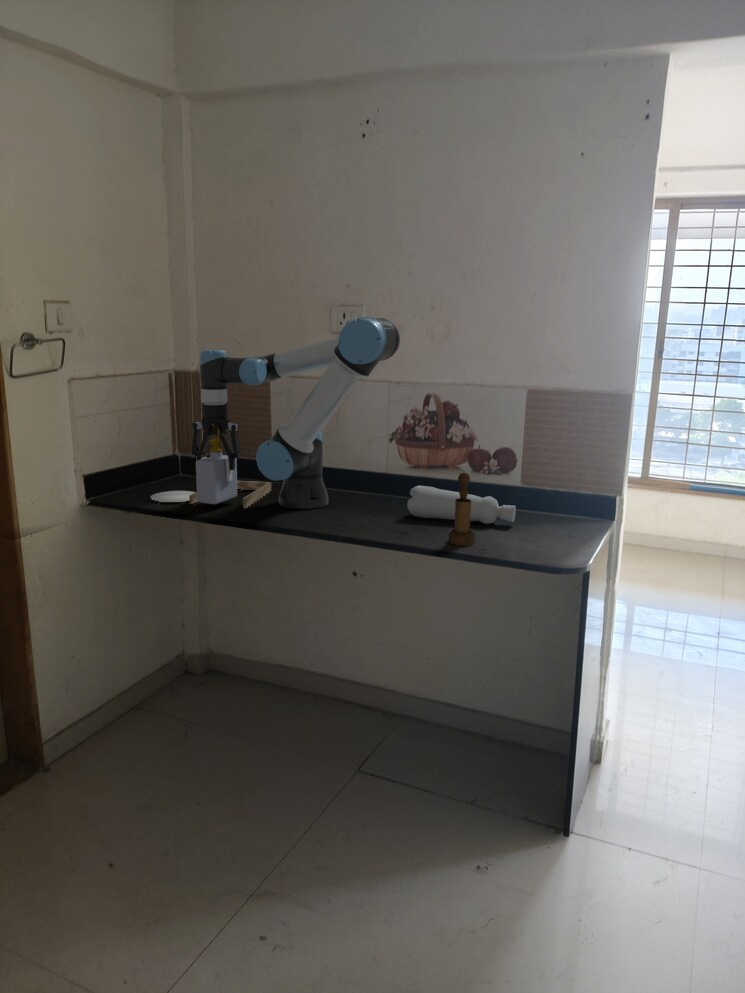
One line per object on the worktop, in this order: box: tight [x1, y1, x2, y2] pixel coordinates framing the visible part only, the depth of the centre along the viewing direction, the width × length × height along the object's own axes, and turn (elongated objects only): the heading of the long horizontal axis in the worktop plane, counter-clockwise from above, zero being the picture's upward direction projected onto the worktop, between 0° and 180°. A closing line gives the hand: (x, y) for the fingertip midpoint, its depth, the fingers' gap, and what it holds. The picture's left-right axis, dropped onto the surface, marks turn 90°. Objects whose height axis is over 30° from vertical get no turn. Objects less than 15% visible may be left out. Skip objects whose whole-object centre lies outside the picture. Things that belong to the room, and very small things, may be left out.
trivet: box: [149, 490, 196, 502], centre depth 240 cm, size 15×15×1 cm
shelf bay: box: [189, 480, 273, 509], centre depth 241 cm, size 18×24×3 cm
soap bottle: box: [195, 423, 238, 505], centre depth 228 cm, size 12×7×23 cm, turn 156°
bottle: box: [407, 485, 517, 525], centre depth 217 cm, size 9×9×30 cm
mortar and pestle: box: [448, 472, 475, 546], centre depth 194 cm, size 7×6×18 cm
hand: (217, 479), depth 229 cm, fingers closed on soap bottle, 7 cm apart
